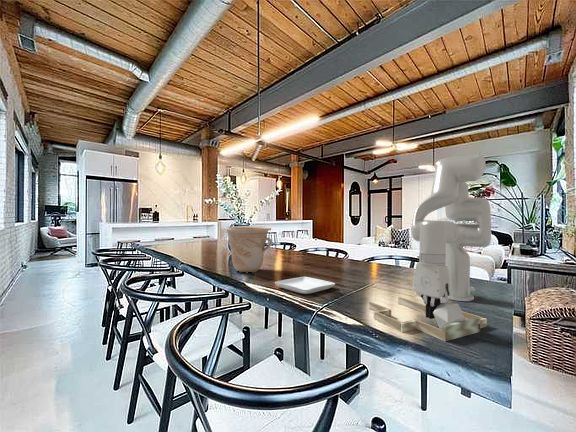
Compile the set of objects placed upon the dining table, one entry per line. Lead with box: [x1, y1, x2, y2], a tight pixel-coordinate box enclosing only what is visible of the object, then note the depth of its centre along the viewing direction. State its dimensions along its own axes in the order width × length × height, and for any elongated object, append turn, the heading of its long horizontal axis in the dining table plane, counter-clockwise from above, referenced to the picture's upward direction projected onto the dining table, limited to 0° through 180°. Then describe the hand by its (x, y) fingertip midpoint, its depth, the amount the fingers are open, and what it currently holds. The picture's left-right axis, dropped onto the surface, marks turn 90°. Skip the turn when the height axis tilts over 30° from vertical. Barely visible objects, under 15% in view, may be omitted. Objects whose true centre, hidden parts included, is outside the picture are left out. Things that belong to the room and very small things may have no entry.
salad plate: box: [274, 276, 336, 295], centre depth 135 cm, size 21×21×3 cm
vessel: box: [224, 225, 273, 274], centre depth 177 cm, size 29×29×30 cm
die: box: [433, 302, 465, 329], centre depth 87 cm, size 8×9×10 cm
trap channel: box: [368, 296, 488, 342], centre depth 96 cm, size 28×30×4 cm
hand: (431, 317), depth 90 cm, fingers closed
